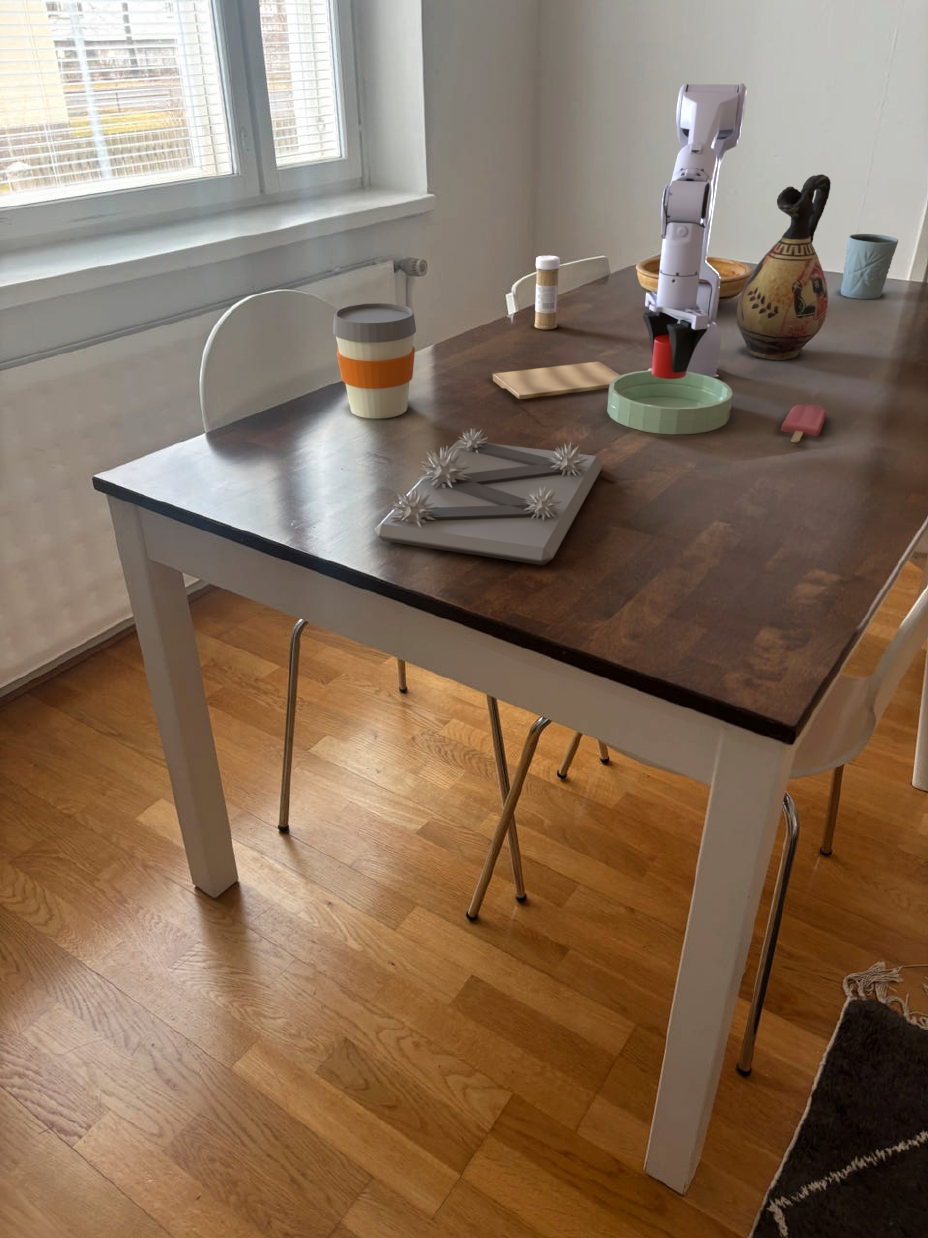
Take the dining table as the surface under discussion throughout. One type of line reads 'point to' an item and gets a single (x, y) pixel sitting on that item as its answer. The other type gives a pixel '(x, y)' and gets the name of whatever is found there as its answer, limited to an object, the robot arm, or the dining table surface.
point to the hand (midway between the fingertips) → (669, 365)
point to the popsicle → (804, 421)
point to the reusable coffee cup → (376, 356)
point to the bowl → (669, 403)
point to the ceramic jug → (787, 281)
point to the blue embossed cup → (867, 265)
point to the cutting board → (556, 379)
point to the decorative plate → (493, 500)
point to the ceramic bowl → (729, 274)
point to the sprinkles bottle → (546, 292)
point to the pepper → (664, 359)
